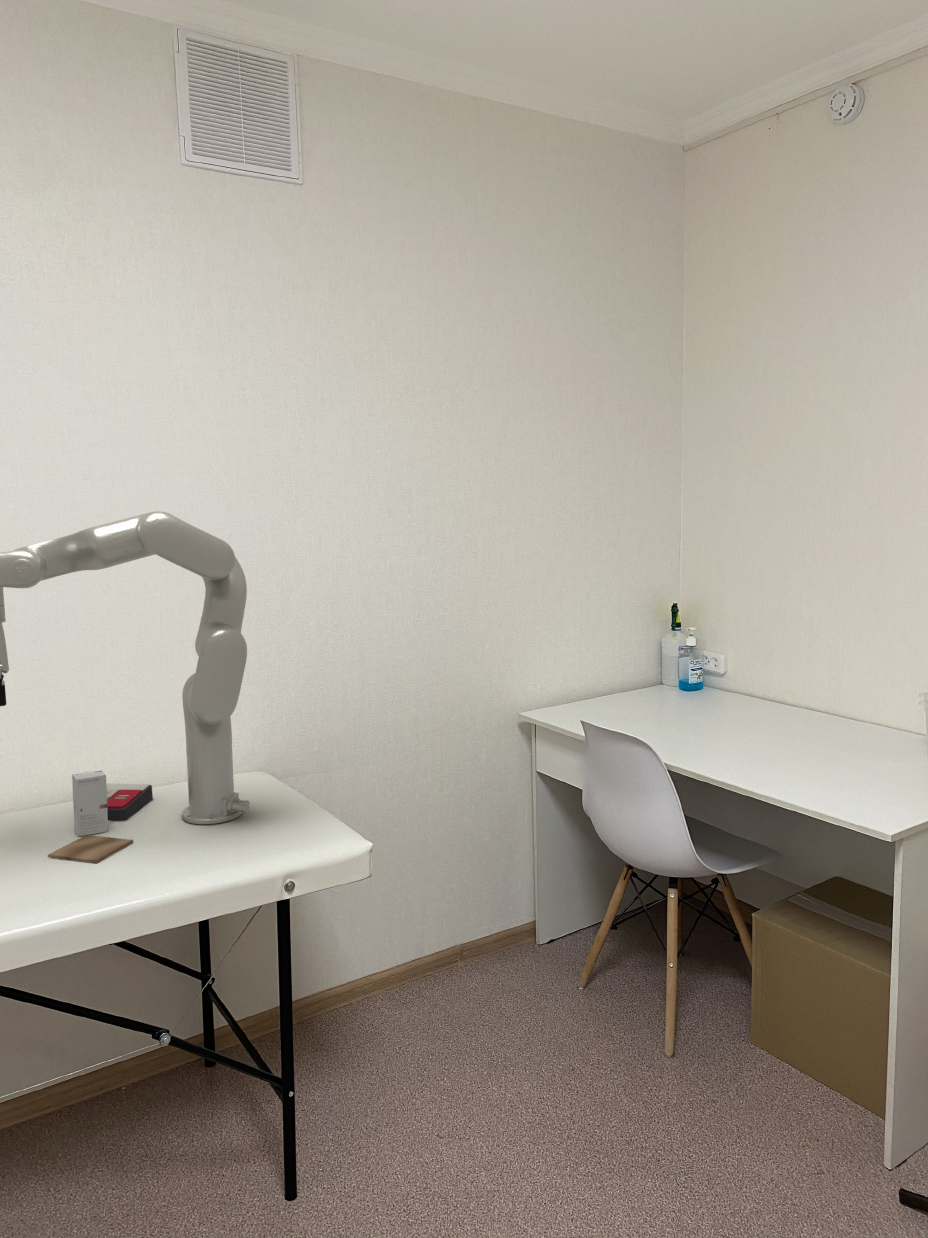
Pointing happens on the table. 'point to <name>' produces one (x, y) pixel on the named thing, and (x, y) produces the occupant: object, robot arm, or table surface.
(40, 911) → the table surface
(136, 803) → the black and red case
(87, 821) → the skincare box
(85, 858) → the walnut board
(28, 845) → the table surface
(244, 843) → the table surface
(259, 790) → the table surface
